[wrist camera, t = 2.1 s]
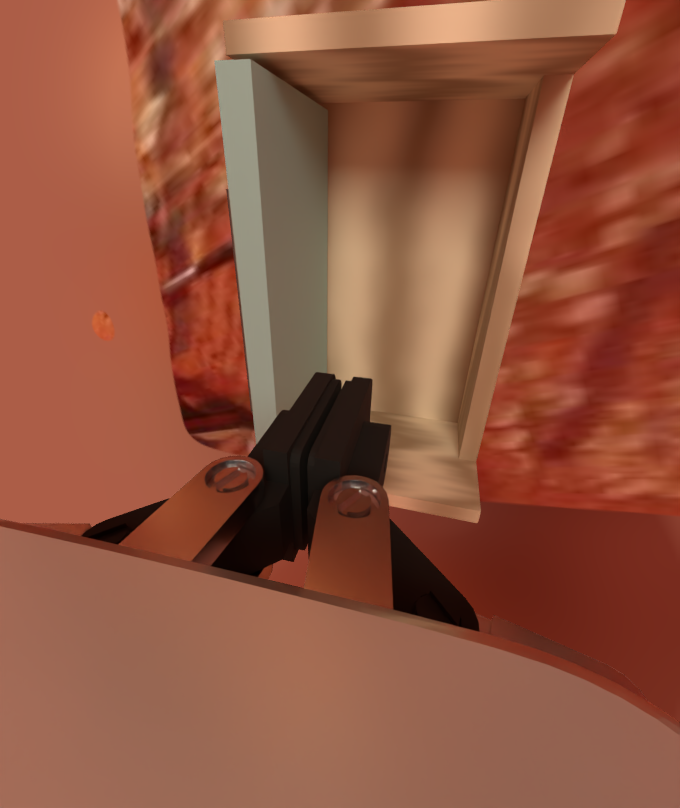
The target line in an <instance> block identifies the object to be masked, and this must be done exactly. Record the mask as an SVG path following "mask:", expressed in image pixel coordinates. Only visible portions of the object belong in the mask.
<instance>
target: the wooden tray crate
mask: <svg viewBox="0 0 680 808" xmlns="http://www.w3.org/2000/svg"><path fill="white" fill-rule="evenodd" d="M625 1H626V0H494V1H481V2H467V3H454V4H440V5H427V6H413V7H400V8H386V9H373V10H359V11H346V12H332V13H319V14H305V15H292V16H278V17H265V18H251V19H238V20H224V21H223V28H224V38H225V48H226V55H227V56H229V57H231V58H232V59H234V60H238V59H251V60H253V61H254V62H256V63H257V64H259V65H260V66H262V67H263V68H265V69H266V70H268V71H269V72H271V73H272V74H274V75H275V76H277V77H278V78H280V79H281V80H283V81H285V82H286V83H288V84H289V85H291V86H292V87H294V88H295V89H297V90H298V91H300V92H301V93H303V94H304V95H306V96H307V97H309V98H310V99H312V100H313V101H315V102H316V103H318V104H319V105H321V106H322V107H324V108H325V109H327V110H328V235H327V373H329V374H335V377H336V379H339V380H341V382H342V387H343V385H344V383H345V381H346V380H347V381H351V380H352V378H353V377H362V378H371V379H372V381H373V384H372V399H371V413H370V422H374V423H381V424H388V425H391V437H390V447H389V455H388V462H387V469H386V475H385V480H384V485H383V488H384V490H385V491H386V492H387V496H388V499H389V506H393V507H398V508H402V509H408V510H413V511H418V512H423V513H428V514H433V515H438V516H444V517H448V518H454V519H459V520H464V521H469V522H474V523H478V520H479V516H480V513H481V508H480V498H479V487H478V477H477V467H476V460H477V456H478V452H479V448H480V444H481V440H482V436H483V432H484V428H485V424H486V420H487V416H488V412H489V408H490V404H491V400H492V396H493V392H494V388H495V384H496V380H497V376H498V372H499V368H500V365H501V361H502V357H503V353H504V349H505V345H506V341H507V337H508V333H509V329H510V325H511V321H512V317H513V313H514V309H515V305H516V301H517V297H518V293H519V289H520V285H521V281H522V277H523V273H524V269H525V265H526V261H527V257H528V254H529V250H530V246H531V242H532V238H533V234H534V230H535V226H536V222H537V218H538V214H539V210H540V206H541V202H542V198H543V194H544V190H545V186H546V182H547V178H548V174H549V170H550V166H551V162H552V158H553V154H554V150H555V146H556V143H557V139H558V135H559V131H560V127H561V123H562V119H563V115H564V111H565V107H566V103H567V99H568V95H569V91H570V87H571V83H572V79H573V75H574V73H575V72H577V71H578V70H579V69H580V68H581V67H582V66H583V65H584V64H585V63H586V62H587V61H588V60H589V59H590V58H591V57H592V56H593V55H595V54H596V53H597V52H598V51H599V50H600V49H601V48H602V47H603V46H604V45H605V44H606V43H607V42H608V41H609V40H610V39H611V38H613V37H614V36H615V35H616V33H617V30H618V26H619V23H620V19H621V16H622V12H623V9H624V5H625Z"/></svg>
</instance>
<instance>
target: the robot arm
mask: <svg viewBox="0 0 680 808" xmlns="http://www.w3.org/2000/svg"><path fill="white" fill-rule="evenodd" d="M372 384H373V381H372V379H371V378H362V377H353V378H352V380H351V381H347V380H346V381H345V383H344V385H343V387H342V382H341V380H339V379H336V377H335V374H329V373H321V372H316V373H315V374H314V375H313V377H312V378H311V380H310V381H309V383H308V384H307V386H306V387H305V388H304V390H303V391H302V393H301V394H300V396H299V397H298V399H297V400H296V401H295V403H294V404H293V406H292V407H291V409H290V410H282V411H281V412H280V413H279V414H278V416H277V417H276V418H275V420H274V421H273V422H272V424H271V425H270V427H269V428H268V429H267V431H266V432H265V433H264V435H263V436H262V438H261V439H260V440H259V442H258V443H257V444H256V446H255V447H254V449H253V450H252V451H251V453H250V454H249V455H248V457H246V456H228V457H224V458H220V459H218V460H215V461H213V462H211V463H210V464H209V465H207V466H206V467H204V468H203V469H202V470H201V471H200V472H199V473H198V474H196V475H195V476H194V477H193V478H192V479H191V480H190V481H189V482H187V483H186V484H185V485H184V486H183V487H182V488H181V489H180V490H179V491H177V492H176V493H175V494H174V495H173V496H172V497H171V498H169V499H166V500H163V501H160V502H157V503H154V504H151V505H148V506H145V507H143V508H139V509H137V510H134V511H131V512H128V513H125V514H122V515H119V516H116V517H113V518H110V519H108V520H105V521H103V522H101V523H99V524H96V525H95V526H93V527H91V525H90V524H67V523H66V524H64V523H62V524H61V523H56V524H55V523H18V522H13V521H8V520H3V519H0V808H680V722H679V721H678V720H676V719H675V718H673V717H672V716H671V715H669V714H668V713H666V712H665V711H663V710H661V709H660V708H658V707H656V706H654V705H653V704H651V703H650V702H648V700H647V699H646V697H645V696H644V695H643V693H642V692H641V690H640V689H639V688H638V687H636V686H635V685H634V684H633V683H632V682H631V681H630V680H629V679H628V678H627V677H626V676H625V675H623V674H622V673H620V672H618V671H617V670H615V669H613V668H612V667H610V666H608V665H607V664H604V663H602V662H600V661H597V660H595V659H593V658H591V657H588V656H586V655H584V654H581V653H579V652H577V651H574V650H572V649H570V648H568V647H565V646H563V645H561V644H559V643H556V642H554V641H552V640H550V639H547V638H545V637H543V636H540V635H538V634H536V633H534V632H531V631H529V630H527V629H525V628H522V627H520V626H518V625H515V624H513V623H511V622H509V621H506V620H504V619H502V618H499V617H497V616H495V615H494V616H493V618H492V620H489V619H488V618H485V617H483V616H481V615H478V614H476V613H475V612H474V610H473V608H472V607H471V605H470V604H469V603H468V601H467V600H466V598H465V597H463V595H462V594H461V593H460V592H459V591H458V590H457V589H456V588H455V587H454V586H453V585H452V584H451V583H450V582H449V581H448V580H447V579H446V577H445V576H444V575H443V574H442V573H441V572H440V571H439V570H438V569H437V568H436V567H435V566H434V565H433V564H432V563H431V562H430V560H429V559H428V558H427V557H426V556H425V555H424V554H423V553H422V552H421V551H420V550H419V549H418V548H417V547H416V546H415V545H414V544H413V543H412V542H411V540H410V539H409V538H408V537H407V536H406V535H405V534H404V533H403V532H402V531H401V530H400V529H399V528H398V527H397V526H396V525H395V524H394V522H393V521H391V519H390V518H389V499H388V496H387V492H386V491H385V490H384V488H383V485H384V480H385V475H386V469H387V462H388V455H389V447H390V437H391V425H388V424H381V423H374V422H370V413H371V399H372ZM307 544H308V554H309V562H308V568H307V573H306V579H305V584H304V588H300V587H297V586H292V585H288V584H284V583H280V582H275V581H271V580H268V579H269V577H270V575H271V573H272V568H273V563H276V562H278V561H280V560H282V559H283V560H287V561H291V562H294V559H295V557H296V554H297V552H298V550H299V549H300V550H305V549H306V547H307Z"/></svg>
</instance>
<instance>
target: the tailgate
mask: <svg viewBox="0 0 680 808" xmlns="http://www.w3.org/2000/svg"><path fill="white" fill-rule="evenodd" d="M215 70H216V79H217V89H218V98H219V107H220V116H221V125H222V134H223V144H224V153H225V162H226V171H227V180H228V189H226V190H227V199H228V208H229V217H230V226H231V235H232V244H233V253H234V262H235V271H236V280H237V289H238V298H239V307H240V316H241V325H242V334H243V343H244V352H245V361H246V370H247V379H248V388H249V397H250V406H251V411H253V418H254V428H255V437H256V444H257V443H258V442H259V440H260V439H261V438H262V436H263V435H264V433H265V432H266V431H267V429H268V428H269V427H270V425H271V424H272V422H273V421H274V420H275V418H276V417H277V416H278V414H279V413H280V412H281V411H282V410H290V409H291V407H292V406H293V404H294V403H295V401H296V400H297V399H298V397H299V396H300V394H301V393H302V391H303V390H304V388H305V387H306V386H307V384H308V383H309V381H310V380H311V378H312V377H313V375H314V374H315V373H316V372H321V373H327V235H328V110H327V109H325V108H324V107H322V106H321V105H319V104H318V103H316V102H315V101H313V100H312V99H310V98H309V97H307V96H306V95H304V94H303V93H301V92H300V91H298V90H297V89H295V88H294V87H292V86H291V85H289V84H288V83H286V82H285V81H283V80H281V79H280V78H278V77H277V76H275V75H274V74H272V73H271V72H269V71H268V70H266V69H265V68H263V67H262V66H260V65H259V64H257V63H256V62H254V61H253V60H251V59H238V60H218V61H215Z"/></svg>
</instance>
